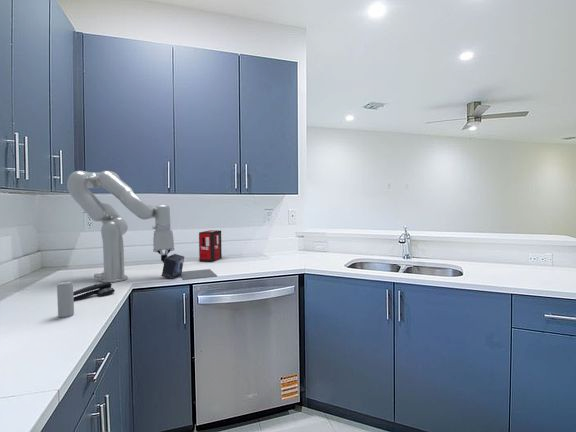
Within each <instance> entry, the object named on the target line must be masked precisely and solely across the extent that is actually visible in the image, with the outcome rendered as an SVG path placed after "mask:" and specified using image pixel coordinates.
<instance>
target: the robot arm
mask: <svg viewBox="0 0 576 432" xmlns="http://www.w3.org/2000/svg"><path fill="white" fill-rule="evenodd" d="M66 182H67V183H66V187H67V190H68V191H67V192H68V193H69V194H70V196H71V197H72V199H73V200H74V201H75V202H76V203H77V204H78V205H79V206H80V208H81V209H82V210H83V211H84V212H85V213H86V215H87V216H88V217H89V218H90V219H91V220H92V221H94V222H99V223H100V222H101V223H102V225H101V228H100V232H101V233H100V234H101V241H102V253H103V254H102V255H103V257H102V258H103V259H102V260H103V272H100V273H93V277H94V278H95V279H96V278H100V282H101V283H104V282H110V283H117V282H123V281H125V280H128V278H129V277H128V275H126V274H125V249H124V246H125V245H124V238H123V235H125V234H126V233H127V232H128V224H127V222H126V220H125V219H124V218H123V217H122V216H121V214H119V213H118V211H117V210H116V209H115V208H114V207H113V206H112V205H110V204H109V203H105V202H101V200H100V199H98V197H97V196H96V195H95V194H94V193H93V192H92V191H91V190H90V189H105V190H106V191H108V193H110V194H111V195H112V196H114V197H115V198H116V199H117V200H119V201H120V203H121V204H122V205H124V207H125V208H126V209H128V210H129V211H130V212H131V214H133V215H135V216H136V217H138V218H139V219H140V220H143V221H144V220H145V221H146V220H151V219H154V224H155V225H153V226H152V230H153V237H152V238H153V239H152V240H153V241H152V242H153V250H152V251H153V253H158V254H159V255H160V259H161V260H160V261H161V262H162V263H163V264H164V260H165V257H168V254H169V253H170V252H173V251H175V242H174V233H173V230H172V229H171V210H170V209H171V208H170V205H167V204H157V205H153V204H146V203H145V202H143V200H141V199H140V198H139V197H138V196H137V195H136V194H135V192H134V190H133V188H132V187H130V185H128V184H127V183H126V182H125V181H123V180H122V179H121V177H120V175H119V174H118V173H116V172H115V171H111V170H103V171H100V172H97V171H95V172H93V171H92V172H90V171H84V170H76V171H73V172H72V173H70V174H69V176H68V178H67V181H66ZM163 250H164V252H163Z"/></svg>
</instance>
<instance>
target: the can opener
mask: <svg viewBox="0 0 576 432" xmlns="http://www.w3.org/2000/svg"><path fill="white" fill-rule="evenodd" d="M115 291H116V289H114V288H113V287H112V282H101V283H95V284H93V285H89V286H86V287H83V288H80V289H77V290H73V296H74V302H76V301H79V300H83V299H86V298H88V297H91V296H94V295H96V296H98V297H106V296H107V297H108V296H110V295H111V294H113V293H115Z"/></svg>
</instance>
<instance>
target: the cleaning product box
mask: <svg viewBox="0 0 576 432" xmlns="http://www.w3.org/2000/svg"><path fill="white" fill-rule="evenodd" d="M198 253H199V254H198V255H199V258H198V259H199V260H198V261H199V263H210V264H211V263H214V262H216V261H220V260H221V259H222V256H223V255H222V230H215V229H214V230H212V229H211V230H205V231H204V230H203V231H199V232H198Z"/></svg>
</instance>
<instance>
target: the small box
mask: <svg viewBox="0 0 576 432" xmlns="http://www.w3.org/2000/svg"><path fill="white" fill-rule="evenodd" d="M184 261H185V256H184V255H180V254H177V253H173V254H171V255H167V257H165V260H164V263H163V267H162V272H161V277H163V278H167V279H170V280H172V279H174V278H176V277H179V276H180V275H181V274H182V272H183V267H184Z"/></svg>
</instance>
